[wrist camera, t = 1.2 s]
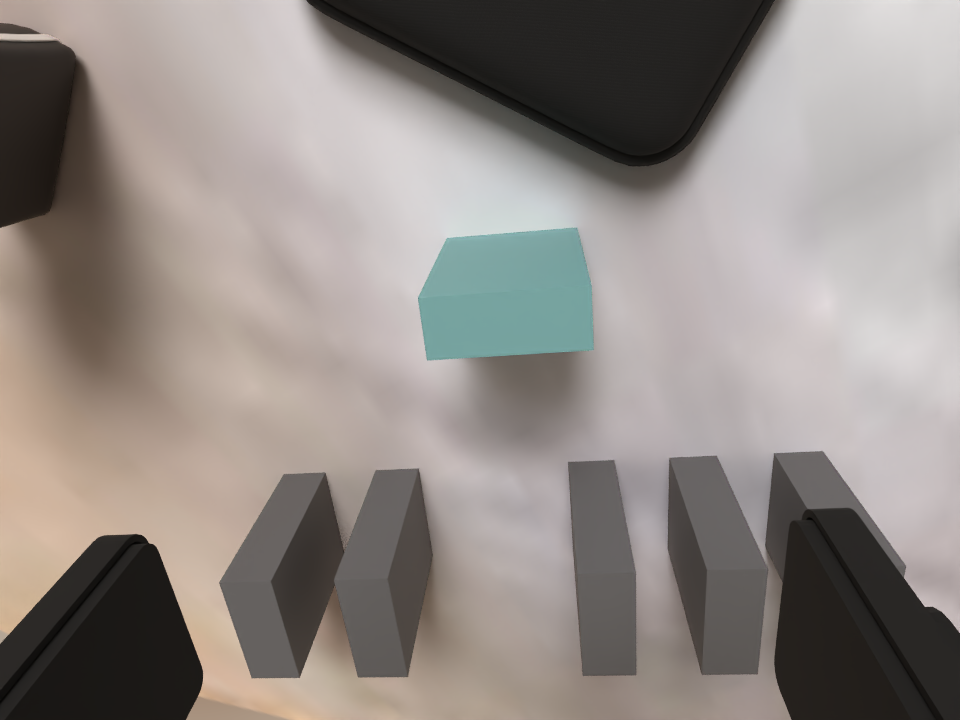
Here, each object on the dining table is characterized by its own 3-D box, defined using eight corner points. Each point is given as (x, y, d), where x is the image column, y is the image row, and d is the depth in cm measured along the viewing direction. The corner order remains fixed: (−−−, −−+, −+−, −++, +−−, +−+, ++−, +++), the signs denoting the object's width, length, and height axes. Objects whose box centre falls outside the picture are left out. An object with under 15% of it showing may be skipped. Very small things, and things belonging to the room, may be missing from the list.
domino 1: (325, 472, 31) (270, 581, 24) (345, 557, 33) (299, 678, 26) (283, 474, 31) (219, 582, 25) (306, 558, 33) (251, 678, 27)
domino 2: (418, 468, 30) (387, 578, 24) (432, 554, 32) (407, 677, 26) (375, 470, 30) (333, 579, 24) (392, 555, 32) (357, 677, 26)
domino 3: (446, 238, 26) (418, 297, 19) (577, 227, 25) (591, 285, 19) (452, 287, 26) (426, 360, 20) (579, 278, 26) (593, 350, 20)
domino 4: (613, 460, 29) (635, 572, 23) (615, 549, 31) (636, 675, 25) (568, 462, 29) (577, 573, 23) (573, 550, 31) (582, 675, 25)
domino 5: (716, 455, 29) (768, 568, 22) (711, 546, 31) (757, 674, 24) (669, 457, 29) (707, 570, 23) (667, 548, 31) (701, 674, 25)
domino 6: (822, 451, 28) (906, 566, 22) (810, 544, 30) (883, 673, 24) (774, 453, 28) (842, 567, 22) (765, 545, 30) (825, 673, 24)
